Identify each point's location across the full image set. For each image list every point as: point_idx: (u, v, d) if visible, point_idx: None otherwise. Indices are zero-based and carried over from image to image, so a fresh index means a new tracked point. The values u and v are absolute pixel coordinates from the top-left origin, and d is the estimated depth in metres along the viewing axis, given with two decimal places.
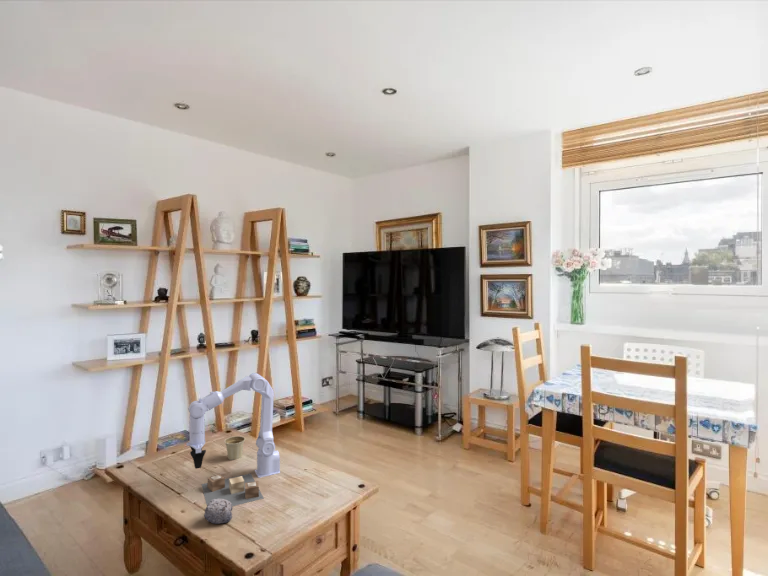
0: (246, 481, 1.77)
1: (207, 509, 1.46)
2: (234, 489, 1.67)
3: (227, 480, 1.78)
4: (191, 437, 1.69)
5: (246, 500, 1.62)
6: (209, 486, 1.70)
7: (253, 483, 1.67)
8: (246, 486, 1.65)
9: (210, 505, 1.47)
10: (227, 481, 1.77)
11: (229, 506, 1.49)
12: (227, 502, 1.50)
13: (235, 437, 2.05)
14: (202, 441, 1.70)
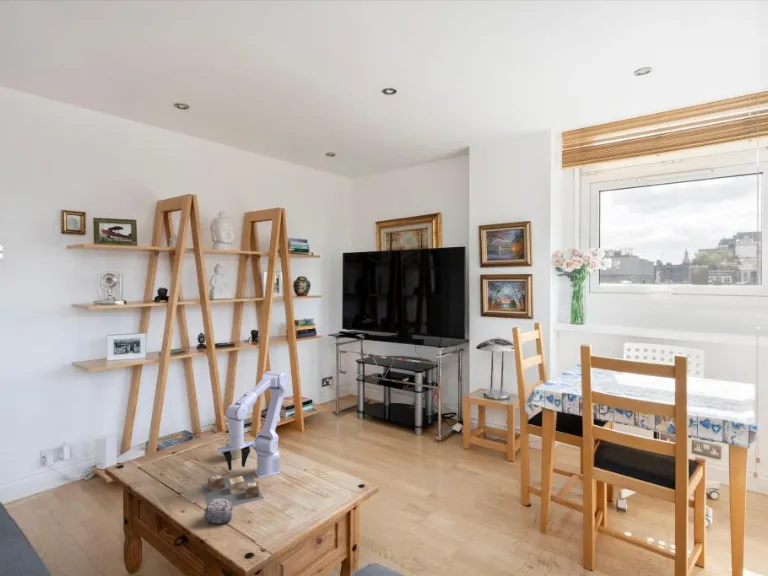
0: (246, 481, 1.77)
1: (207, 509, 1.46)
2: (234, 489, 1.67)
3: (227, 480, 1.78)
4: None
5: (246, 500, 1.62)
6: (209, 486, 1.70)
7: (253, 483, 1.67)
8: (246, 486, 1.65)
9: (210, 505, 1.47)
10: (227, 481, 1.77)
11: (229, 506, 1.49)
12: (227, 502, 1.50)
13: None
14: (232, 446, 1.67)
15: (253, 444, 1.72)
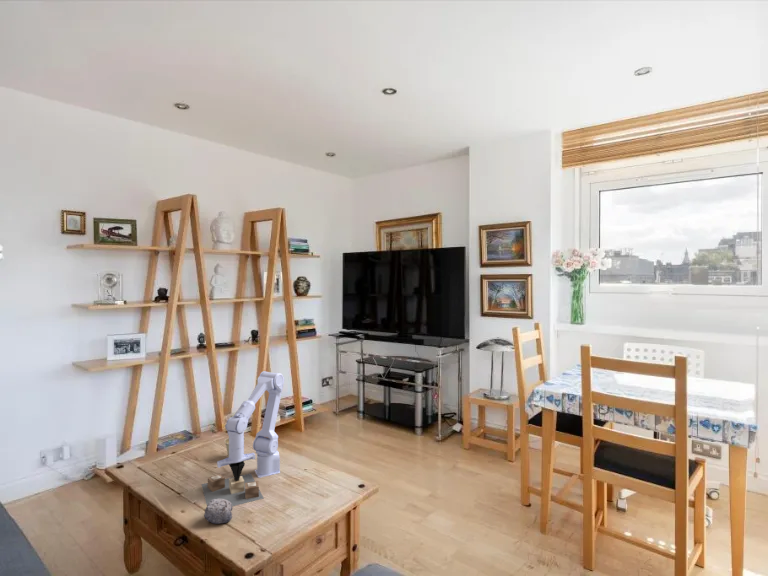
0: (246, 481, 1.77)
1: (207, 509, 1.46)
2: (234, 489, 1.67)
3: (227, 480, 1.78)
4: None
5: (246, 500, 1.62)
6: (209, 486, 1.70)
7: (253, 483, 1.67)
8: (246, 486, 1.65)
9: (210, 505, 1.47)
10: (227, 481, 1.77)
11: (229, 506, 1.49)
12: (227, 502, 1.50)
13: None
14: (232, 459, 1.67)
15: (253, 456, 1.72)
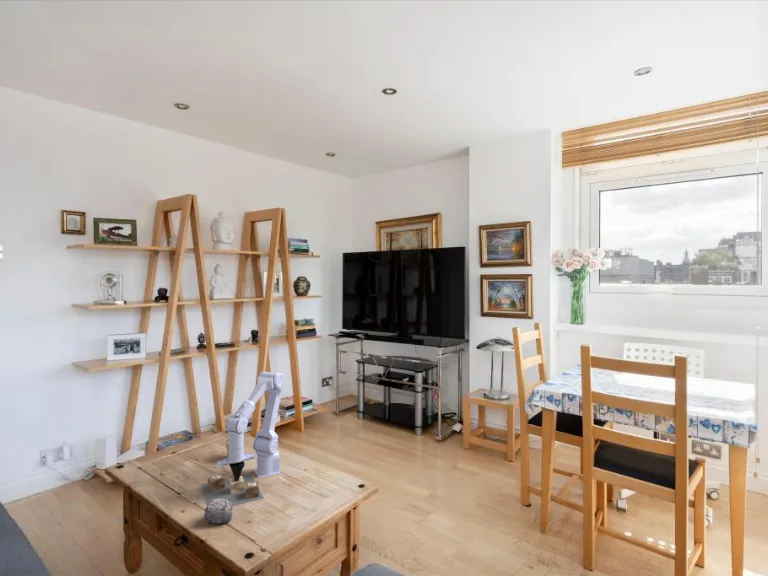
0: (246, 481, 1.77)
1: (207, 509, 1.46)
2: (234, 489, 1.67)
3: (227, 480, 1.78)
4: None
5: (246, 500, 1.62)
6: (209, 486, 1.70)
7: (253, 483, 1.67)
8: (246, 486, 1.65)
9: (210, 505, 1.47)
10: (227, 481, 1.77)
11: (229, 506, 1.49)
12: (227, 502, 1.50)
13: None
14: (232, 459, 1.67)
15: (253, 456, 1.72)
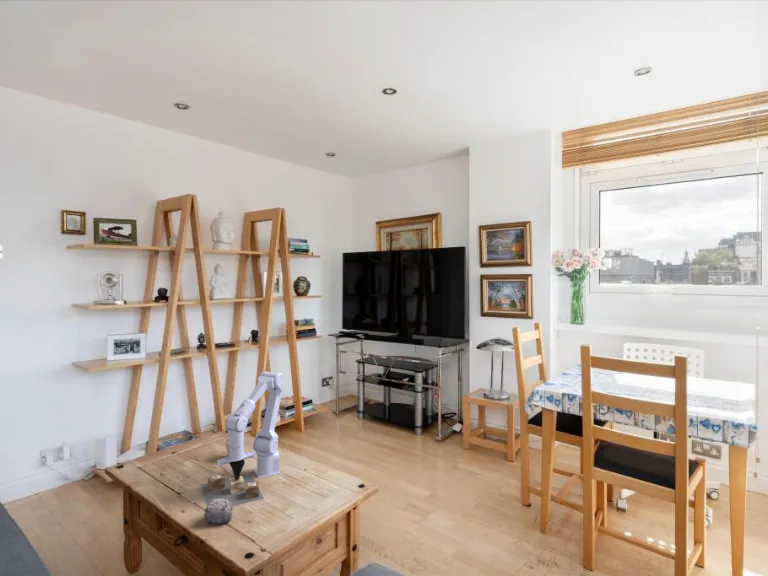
0: (246, 481, 1.77)
1: (207, 509, 1.46)
2: (234, 489, 1.67)
3: (227, 480, 1.78)
4: None
5: (246, 500, 1.62)
6: (209, 486, 1.70)
7: (253, 483, 1.67)
8: (246, 486, 1.65)
9: (210, 505, 1.47)
10: (227, 481, 1.77)
11: (229, 506, 1.49)
12: (227, 502, 1.50)
13: None
14: (232, 457, 1.67)
15: (253, 455, 1.72)
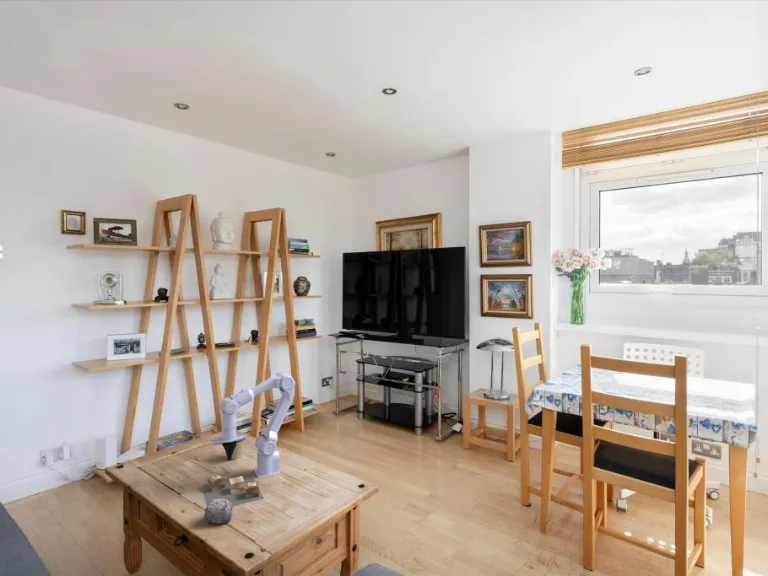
0: (246, 481, 1.77)
1: (207, 509, 1.46)
2: (234, 489, 1.67)
3: (227, 480, 1.78)
4: None
5: (246, 500, 1.62)
6: (209, 486, 1.70)
7: (253, 483, 1.67)
8: (246, 486, 1.65)
9: (210, 505, 1.47)
10: (227, 481, 1.77)
11: (229, 506, 1.49)
12: (227, 502, 1.50)
13: None
14: (224, 438, 1.73)
15: (245, 437, 1.78)
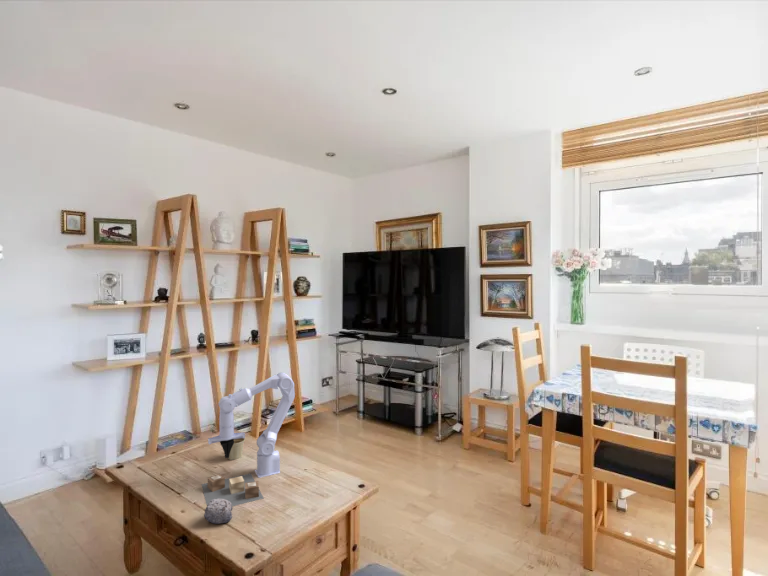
0: (246, 481, 1.77)
1: (207, 509, 1.46)
2: (234, 489, 1.67)
3: (227, 480, 1.78)
4: None
5: (246, 500, 1.62)
6: (209, 486, 1.70)
7: (253, 483, 1.67)
8: (246, 486, 1.65)
9: (210, 505, 1.47)
10: (227, 481, 1.77)
11: (229, 506, 1.49)
12: (227, 502, 1.50)
13: None
14: (222, 436, 1.75)
15: (243, 435, 1.80)
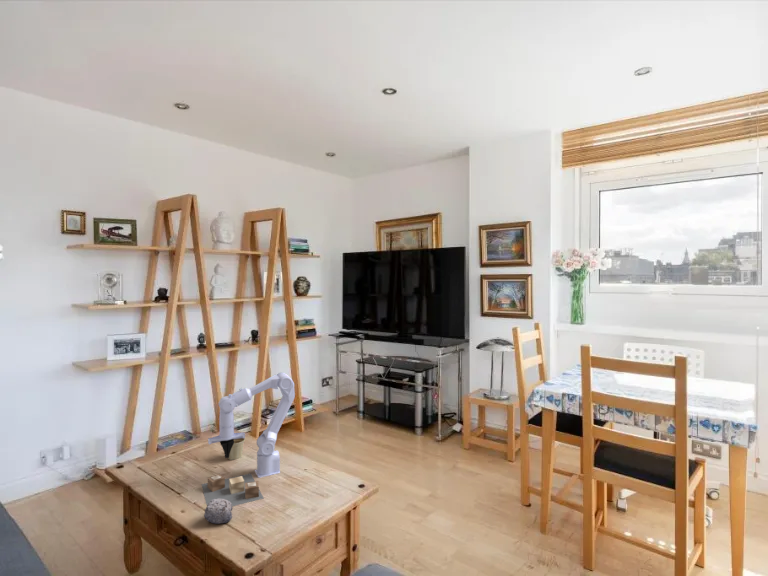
0: (246, 481, 1.77)
1: (207, 509, 1.46)
2: (234, 489, 1.67)
3: (227, 480, 1.78)
4: None
5: (246, 500, 1.62)
6: (209, 486, 1.70)
7: (253, 483, 1.67)
8: (246, 486, 1.65)
9: (210, 505, 1.47)
10: (227, 481, 1.77)
11: (229, 506, 1.49)
12: (227, 502, 1.50)
13: None
14: (222, 436, 1.75)
15: (243, 435, 1.80)
